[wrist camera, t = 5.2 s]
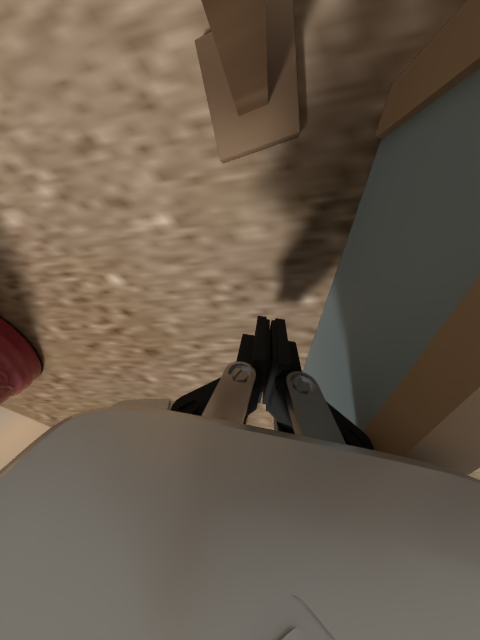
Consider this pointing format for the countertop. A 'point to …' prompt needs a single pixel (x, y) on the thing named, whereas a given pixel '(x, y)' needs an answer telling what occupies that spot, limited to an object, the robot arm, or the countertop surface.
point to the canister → (16, 362)
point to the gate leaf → (415, 267)
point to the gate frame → (250, 75)
